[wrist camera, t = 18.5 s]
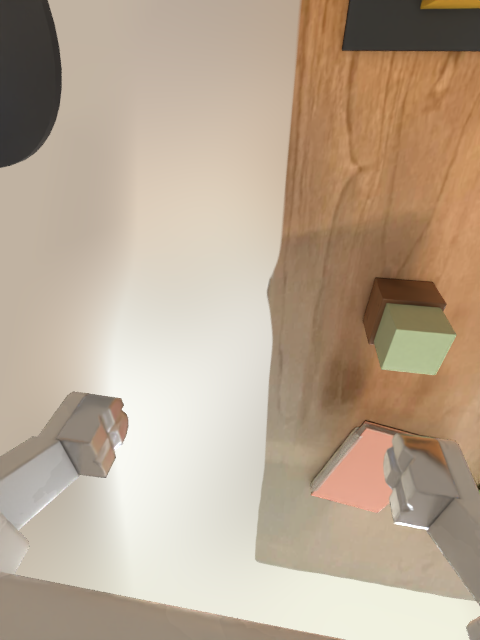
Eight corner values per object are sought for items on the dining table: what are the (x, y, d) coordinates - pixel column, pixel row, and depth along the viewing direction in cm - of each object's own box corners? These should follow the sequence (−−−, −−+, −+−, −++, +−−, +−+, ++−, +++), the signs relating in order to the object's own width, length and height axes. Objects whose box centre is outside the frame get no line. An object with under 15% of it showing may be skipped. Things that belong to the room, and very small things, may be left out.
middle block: (373, 341, 42) (381, 369, 38) (386, 302, 39) (396, 329, 35) (422, 346, 42) (435, 375, 38) (440, 307, 38) (457, 334, 34)
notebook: (359, 418, 59) (361, 427, 57) (448, 442, 59) (452, 452, 58) (306, 486, 76) (306, 495, 74) (376, 504, 76) (377, 514, 75)
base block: (362, 320, 47) (368, 344, 43) (375, 277, 42) (383, 298, 38) (414, 325, 46) (425, 349, 42) (432, 281, 42) (446, 304, 38)
